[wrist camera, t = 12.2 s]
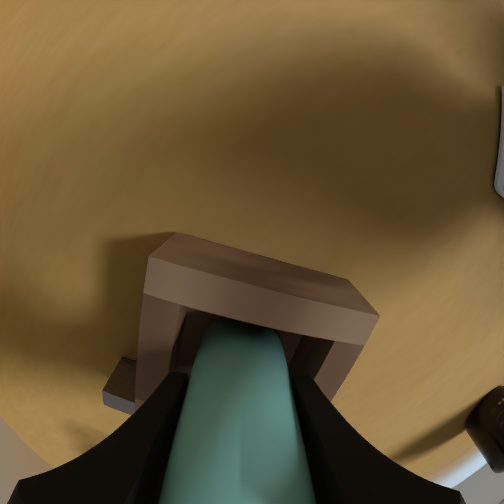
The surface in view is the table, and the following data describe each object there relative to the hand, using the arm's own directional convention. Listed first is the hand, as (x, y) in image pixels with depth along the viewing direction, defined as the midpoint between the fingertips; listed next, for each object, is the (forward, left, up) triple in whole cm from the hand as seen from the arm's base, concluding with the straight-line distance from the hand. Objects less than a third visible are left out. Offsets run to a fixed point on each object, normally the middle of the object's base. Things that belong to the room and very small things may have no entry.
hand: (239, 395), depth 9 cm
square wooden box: (0, 0, -4) cm, 4 cm away
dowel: (0, 0, -3) cm, 3 cm away
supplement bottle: (-30, +6, -5) cm, 31 cm away
